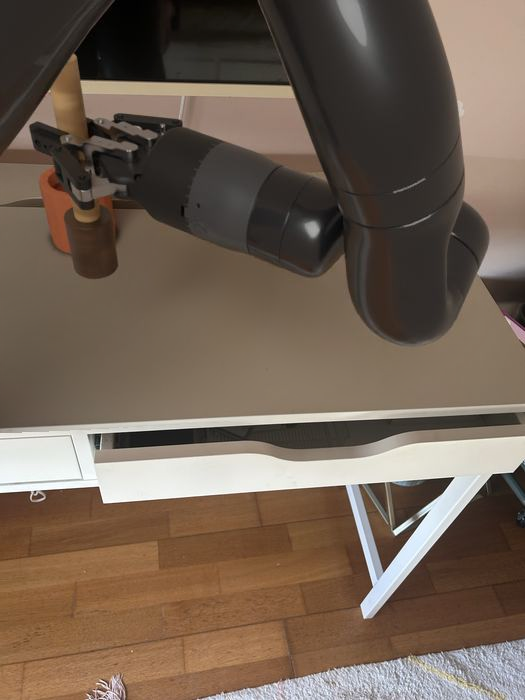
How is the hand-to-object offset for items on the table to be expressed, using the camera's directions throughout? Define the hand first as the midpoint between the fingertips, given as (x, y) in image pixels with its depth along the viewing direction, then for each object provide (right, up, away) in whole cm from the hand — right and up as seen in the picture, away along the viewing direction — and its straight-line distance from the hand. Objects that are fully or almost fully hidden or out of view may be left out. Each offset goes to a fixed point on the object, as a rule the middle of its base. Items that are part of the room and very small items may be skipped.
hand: (47, 128), depth 46 cm
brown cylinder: (+1, -10, +9) cm, 14 cm away
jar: (-10, -1, +39) cm, 40 cm away
